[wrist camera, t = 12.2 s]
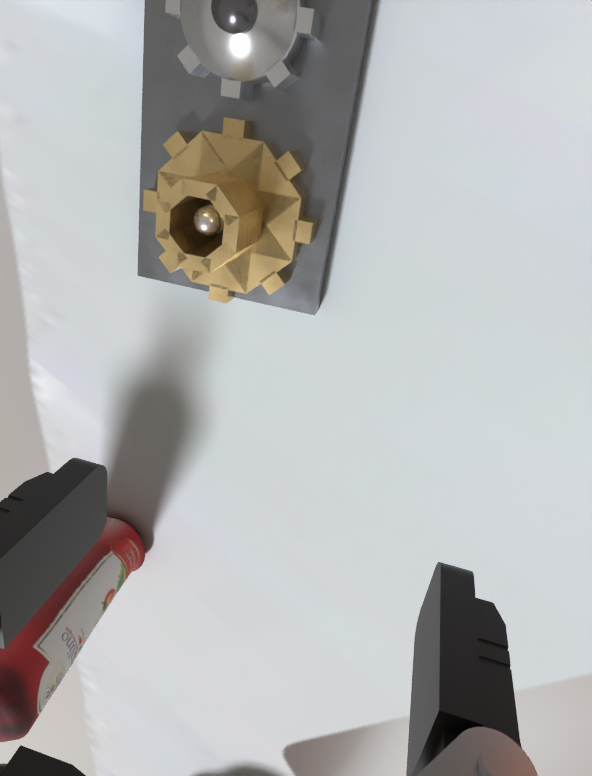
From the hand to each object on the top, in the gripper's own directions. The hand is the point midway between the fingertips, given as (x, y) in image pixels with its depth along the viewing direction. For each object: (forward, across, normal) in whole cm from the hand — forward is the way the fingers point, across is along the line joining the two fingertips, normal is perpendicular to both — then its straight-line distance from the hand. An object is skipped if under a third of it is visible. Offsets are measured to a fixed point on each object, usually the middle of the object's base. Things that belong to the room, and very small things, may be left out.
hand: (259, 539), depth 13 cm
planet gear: (+28, +11, -2) cm, 31 cm away
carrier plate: (+30, +11, -14) cm, 35 cm away
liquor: (+30, +20, +32) cm, 48 cm away
